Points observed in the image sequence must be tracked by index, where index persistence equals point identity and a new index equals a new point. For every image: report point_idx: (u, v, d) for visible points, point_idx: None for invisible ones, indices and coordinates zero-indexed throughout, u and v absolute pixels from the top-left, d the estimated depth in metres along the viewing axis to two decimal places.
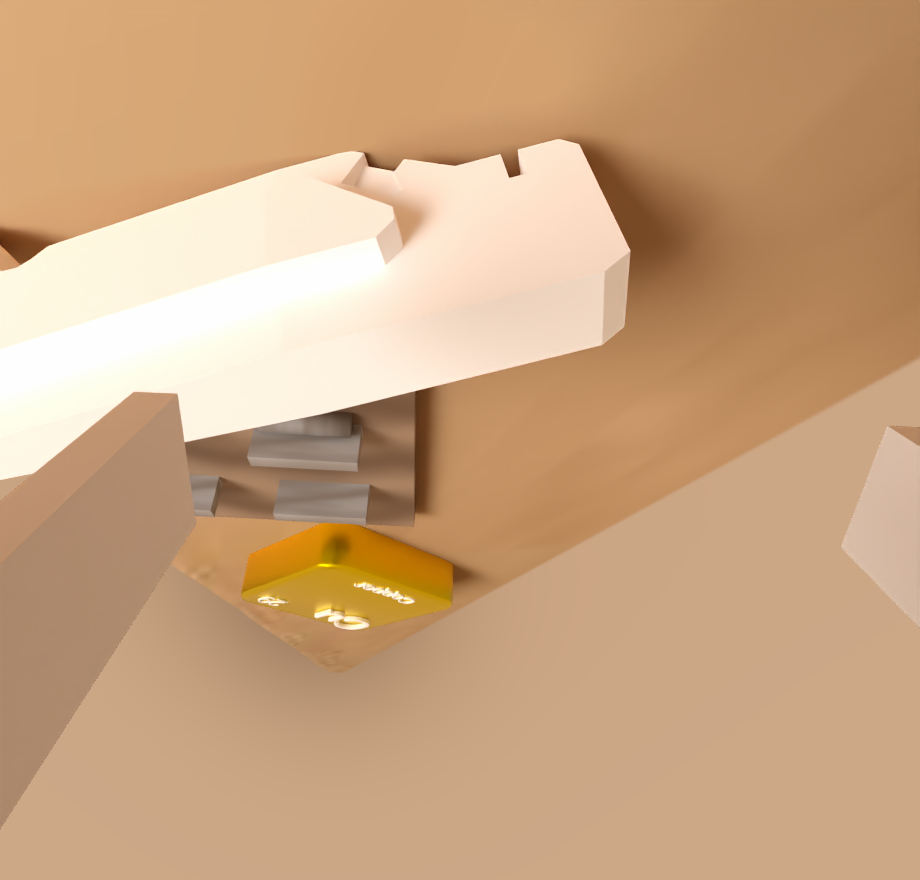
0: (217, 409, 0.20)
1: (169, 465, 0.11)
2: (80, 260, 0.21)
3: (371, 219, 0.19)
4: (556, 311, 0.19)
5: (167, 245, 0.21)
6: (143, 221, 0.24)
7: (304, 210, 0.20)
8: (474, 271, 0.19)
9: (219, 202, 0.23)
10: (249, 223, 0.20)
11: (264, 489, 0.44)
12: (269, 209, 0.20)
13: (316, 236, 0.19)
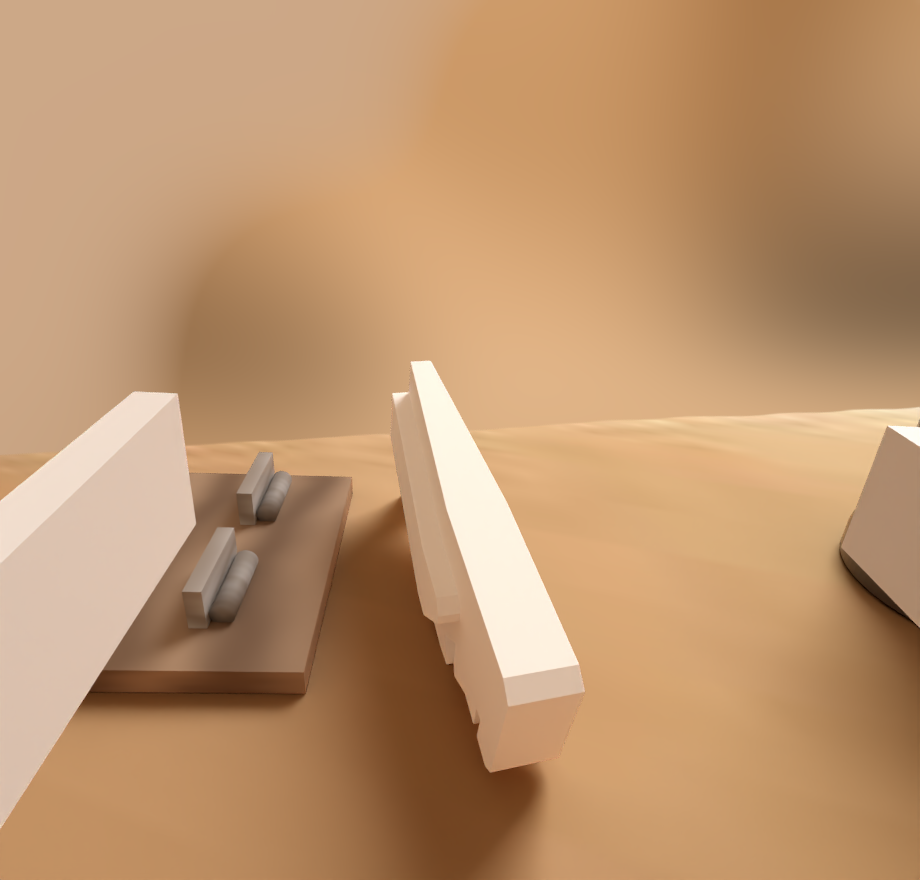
0: (461, 470, 0.35)
1: (169, 465, 0.11)
2: None
3: None
4: (540, 638, 0.26)
5: None
6: None
7: None
8: None
9: None
10: None
11: None
12: None
13: None
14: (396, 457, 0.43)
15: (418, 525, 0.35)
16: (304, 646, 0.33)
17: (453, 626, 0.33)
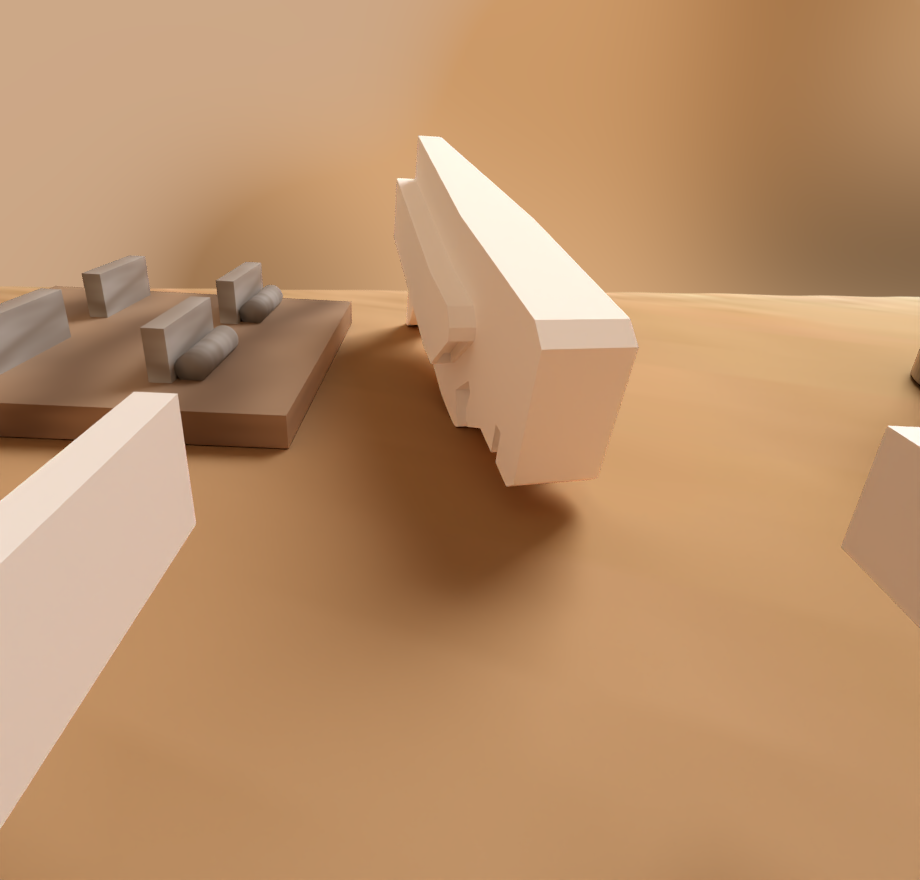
0: (477, 195, 0.29)
1: (169, 465, 0.11)
2: None
3: None
4: (580, 299, 0.21)
5: None
6: None
7: None
8: None
9: None
10: None
11: None
12: None
13: None
14: (400, 245, 0.38)
15: (425, 259, 0.29)
16: (288, 399, 0.27)
17: (466, 360, 0.27)
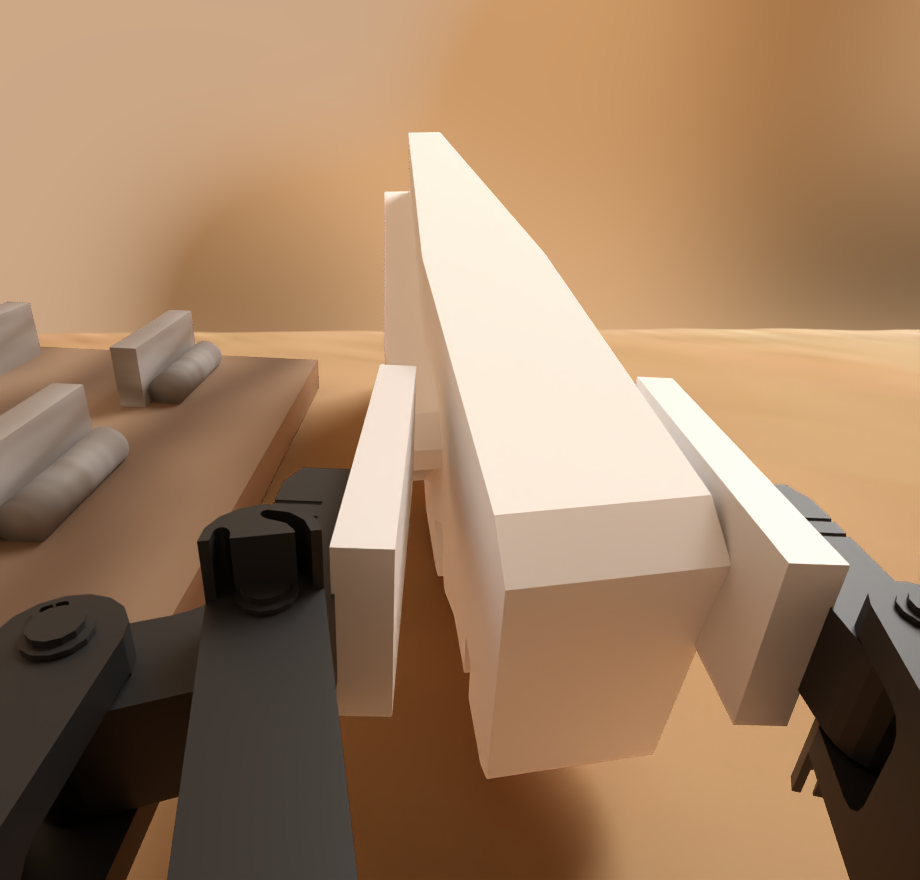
0: (462, 219, 0.19)
1: (413, 426, 0.13)
2: None
3: None
4: (603, 440, 0.10)
5: None
6: None
7: None
8: None
9: None
10: None
11: None
12: None
13: None
14: None
15: (385, 321, 0.19)
16: (176, 587, 0.16)
17: (438, 490, 0.17)
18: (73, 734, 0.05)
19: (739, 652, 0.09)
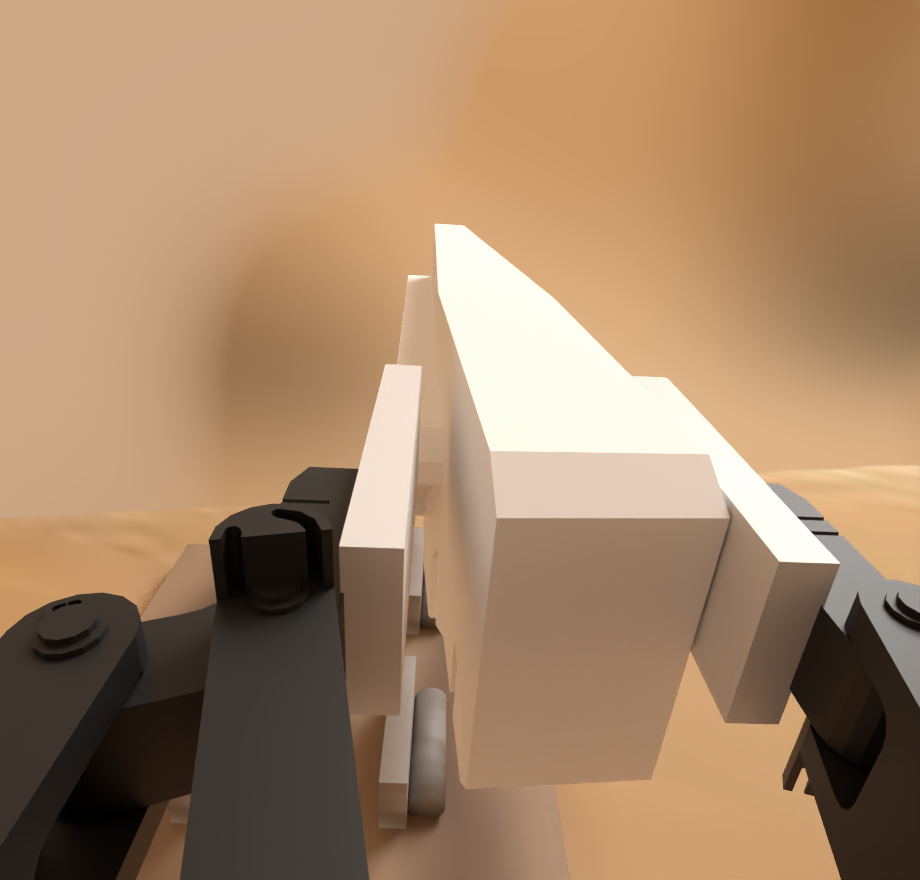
0: (478, 273, 0.20)
1: None
2: None
3: None
4: (603, 412, 0.10)
5: None
6: None
7: None
8: None
9: None
10: None
11: None
12: None
13: None
14: None
15: (398, 361, 0.20)
16: (559, 866, 0.22)
17: (437, 515, 0.17)
18: (87, 733, 0.05)
19: (731, 650, 0.09)
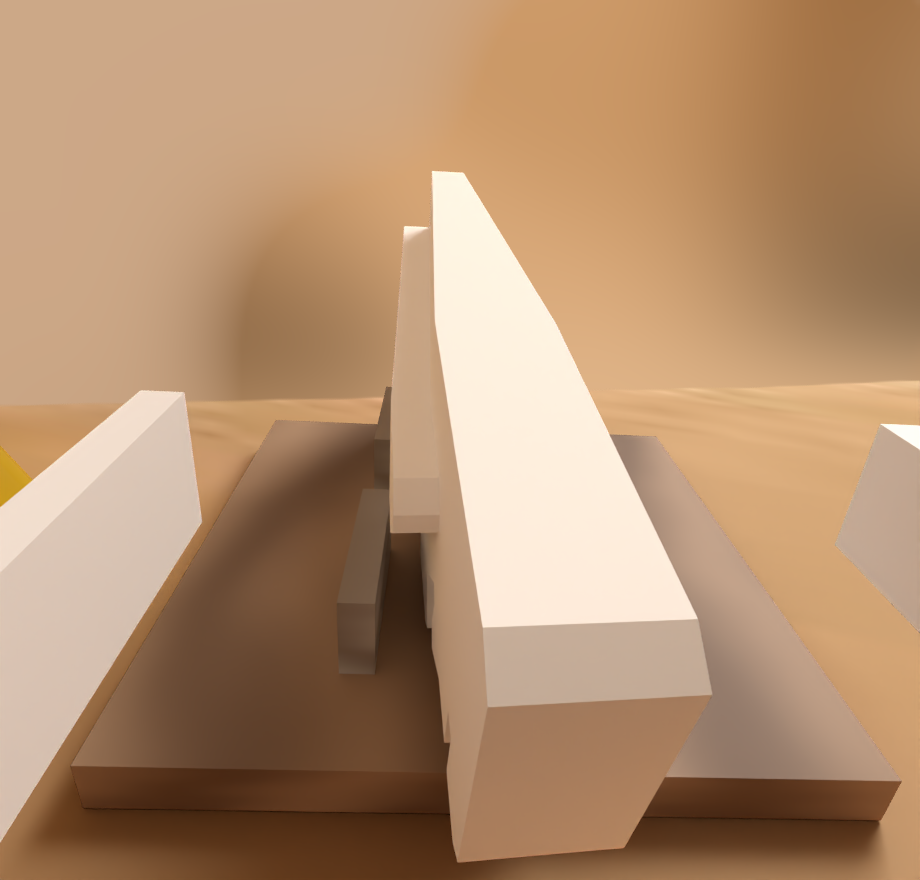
0: (477, 277, 0.19)
1: (176, 463, 0.11)
2: None
3: None
4: (597, 548, 0.10)
5: None
6: None
7: None
8: None
9: None
10: None
11: (350, 527, 0.24)
12: None
13: None
14: None
15: (394, 372, 0.19)
16: (848, 721, 0.17)
17: (433, 549, 0.17)
18: None
19: None
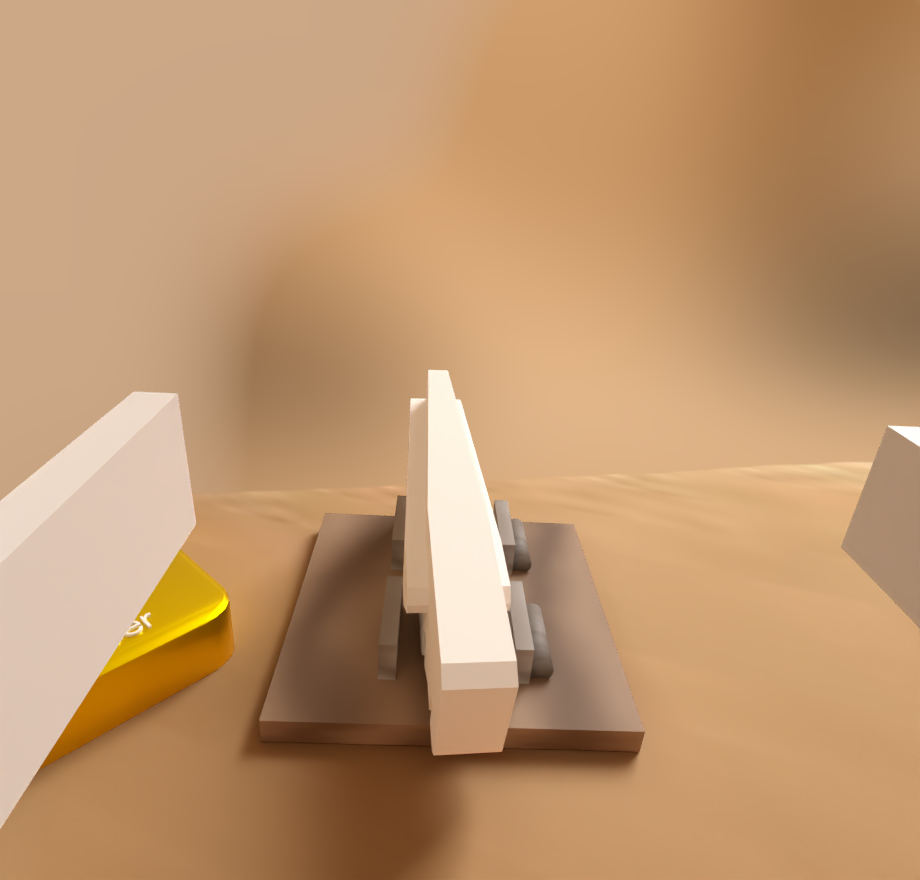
0: (450, 473, 0.37)
1: (169, 465, 0.11)
2: None
3: None
4: (486, 632, 0.28)
5: None
6: None
7: None
8: None
9: None
10: None
11: (378, 593, 0.42)
12: None
13: None
14: None
15: (406, 521, 0.37)
16: (630, 704, 0.35)
17: (425, 618, 0.34)
18: None
19: None
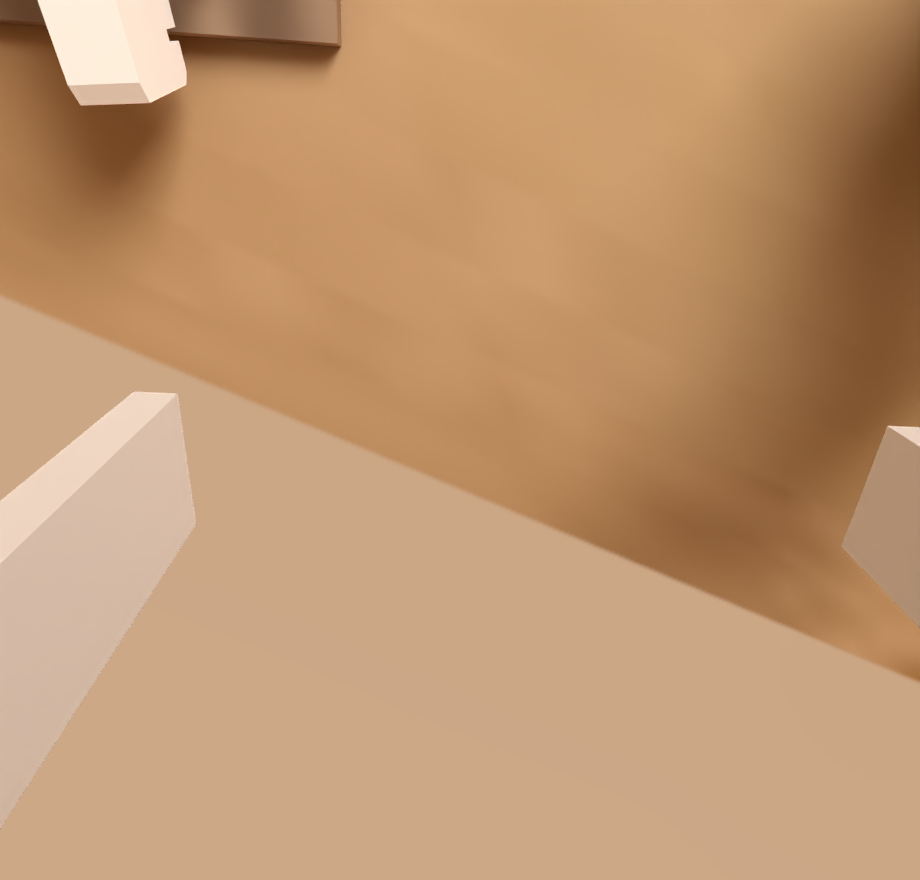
0: None
1: (169, 465, 0.11)
2: None
3: None
4: (102, 46, 0.28)
5: None
6: None
7: None
8: None
9: None
10: None
11: None
12: None
13: None
14: None
15: None
16: (330, 3, 0.34)
17: None
18: None
19: None
